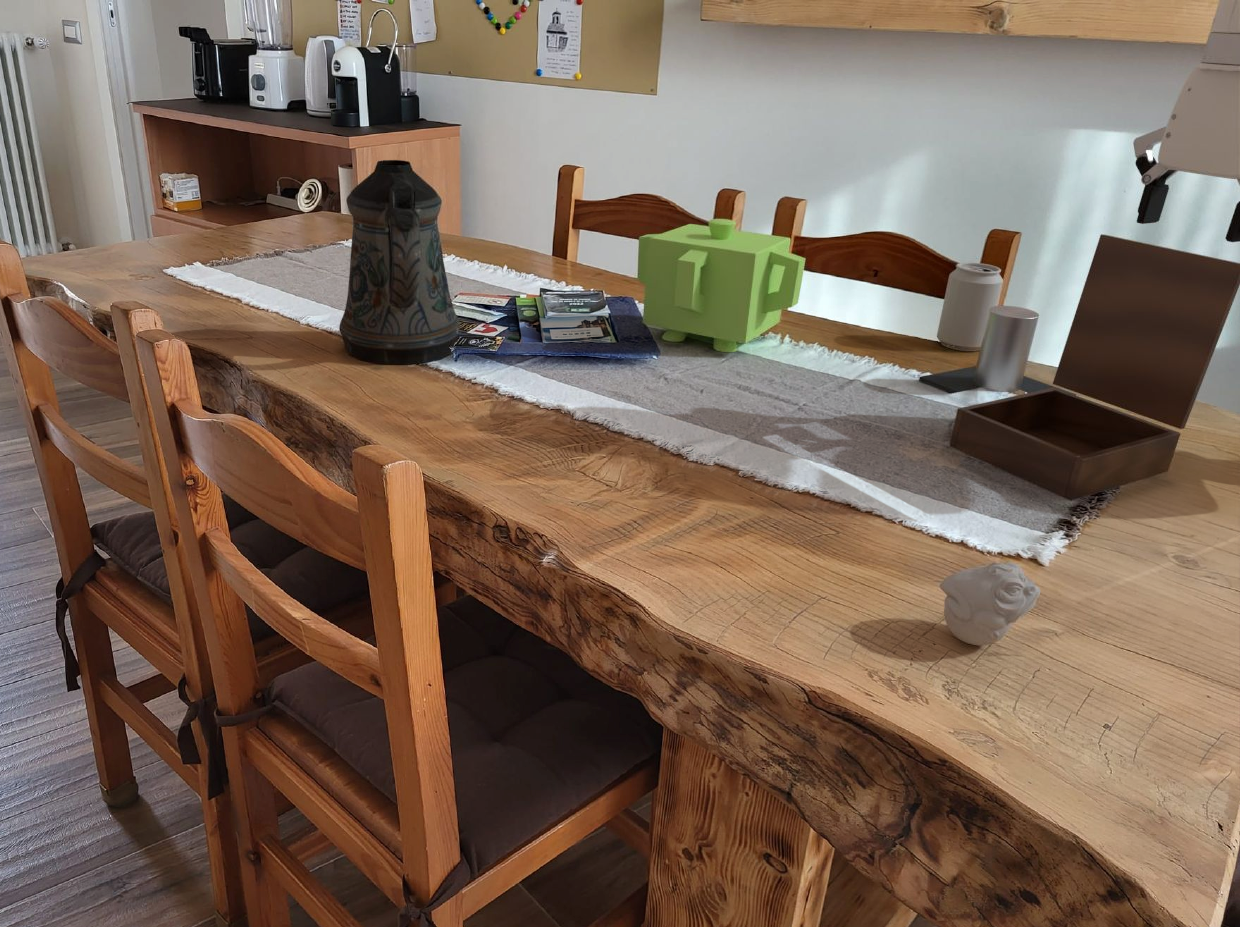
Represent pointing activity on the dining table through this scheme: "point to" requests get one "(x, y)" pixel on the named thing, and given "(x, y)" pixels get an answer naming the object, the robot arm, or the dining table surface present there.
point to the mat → (964, 381)
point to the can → (968, 305)
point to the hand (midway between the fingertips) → (1190, 231)
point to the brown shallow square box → (1064, 442)
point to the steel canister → (1005, 348)
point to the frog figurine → (987, 601)
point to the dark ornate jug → (397, 272)
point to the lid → (1147, 327)
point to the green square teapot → (717, 282)
